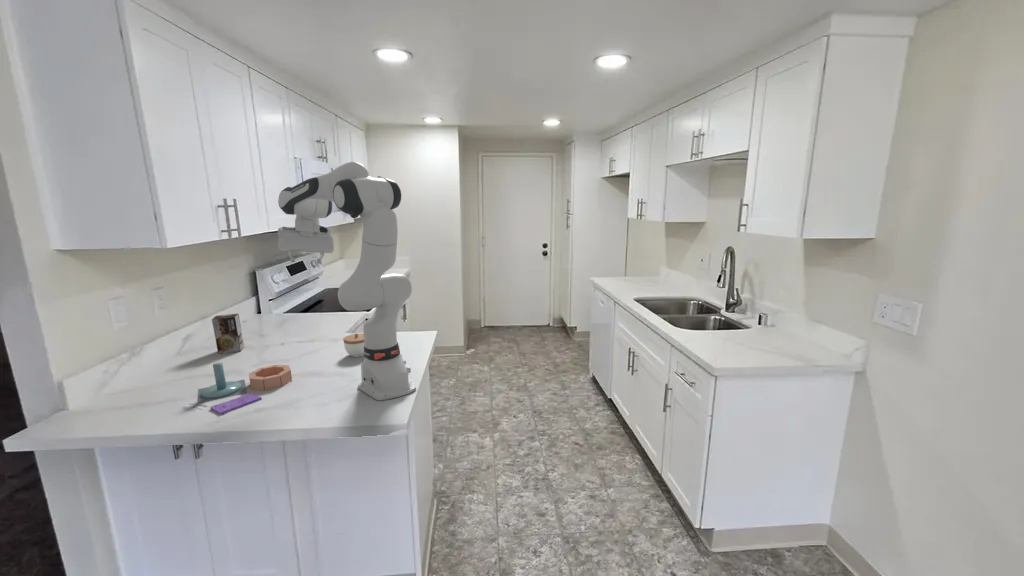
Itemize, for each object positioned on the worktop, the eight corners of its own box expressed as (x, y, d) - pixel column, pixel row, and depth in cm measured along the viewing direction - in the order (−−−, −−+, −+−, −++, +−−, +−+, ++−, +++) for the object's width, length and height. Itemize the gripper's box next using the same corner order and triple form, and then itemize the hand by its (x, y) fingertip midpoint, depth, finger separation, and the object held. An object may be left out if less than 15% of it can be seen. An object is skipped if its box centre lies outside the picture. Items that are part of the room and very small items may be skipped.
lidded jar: (363, 359, 180) (361, 338, 178) (339, 358, 182) (337, 337, 180) (376, 350, 190) (374, 330, 188) (353, 349, 192) (351, 329, 190)
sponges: (211, 412, 139) (210, 406, 138) (252, 397, 149) (251, 391, 149) (220, 417, 135) (219, 412, 134) (262, 401, 145) (261, 396, 145)
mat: (246, 394, 150) (246, 392, 150) (197, 405, 142) (197, 404, 142) (244, 380, 161) (244, 379, 161) (198, 390, 154) (198, 389, 154)
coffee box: (244, 347, 199) (239, 313, 196) (241, 351, 193) (235, 316, 190) (221, 349, 196) (216, 315, 193) (217, 354, 190) (211, 318, 187)
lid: (242, 392, 150) (238, 365, 148) (201, 401, 144) (196, 373, 142) (240, 381, 160) (236, 355, 158) (202, 389, 153) (197, 362, 151)
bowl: (293, 384, 157) (292, 373, 156) (252, 394, 150) (250, 382, 149) (288, 373, 167) (287, 362, 166) (249, 381, 160) (247, 370, 159)
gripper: (277, 224, 166) (276, 260, 166) (334, 229, 176) (333, 263, 175) (277, 227, 172) (276, 262, 172) (333, 232, 181) (332, 265, 181)
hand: (305, 262), depth 173 cm, fingers open, 8 cm apart
